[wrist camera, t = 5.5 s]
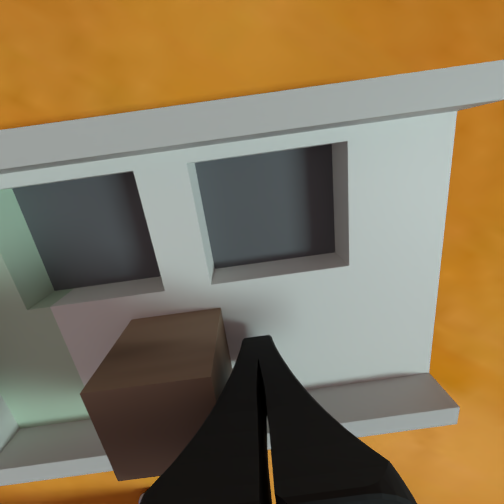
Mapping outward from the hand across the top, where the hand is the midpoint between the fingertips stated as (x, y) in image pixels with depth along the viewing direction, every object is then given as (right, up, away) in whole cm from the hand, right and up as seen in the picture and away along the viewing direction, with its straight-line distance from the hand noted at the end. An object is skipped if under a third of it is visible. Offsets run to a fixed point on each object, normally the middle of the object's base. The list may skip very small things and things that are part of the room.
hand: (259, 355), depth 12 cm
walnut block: (-3, 0, +1) cm, 4 cm away
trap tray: (-3, +3, +2) cm, 5 cm away
